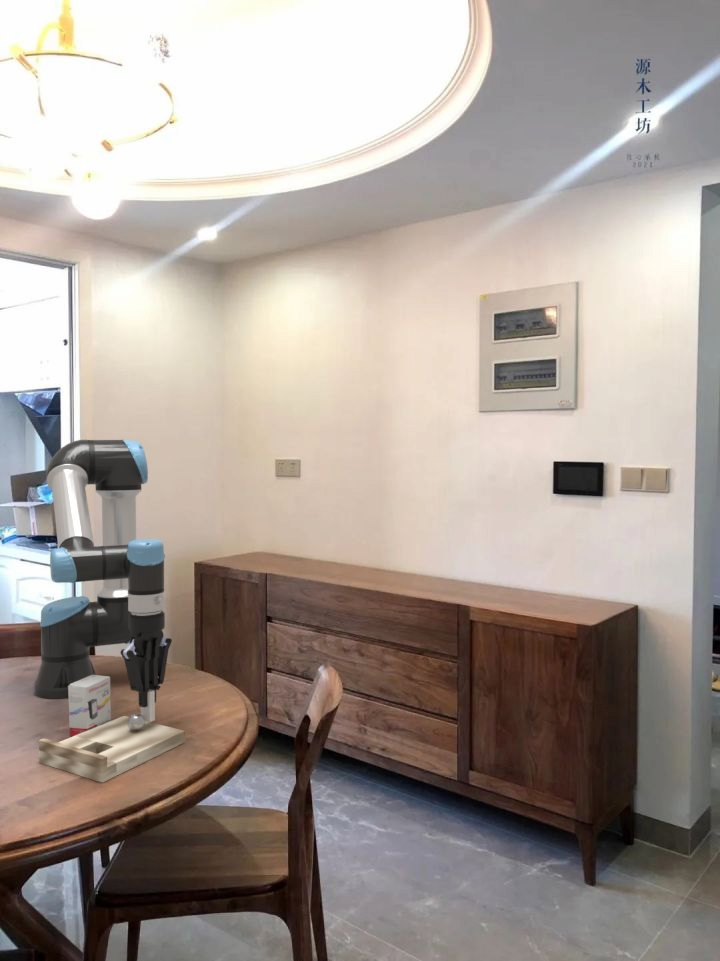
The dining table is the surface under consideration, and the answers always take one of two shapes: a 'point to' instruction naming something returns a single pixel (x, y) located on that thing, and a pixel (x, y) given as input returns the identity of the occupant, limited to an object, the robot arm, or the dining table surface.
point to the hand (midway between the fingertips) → (147, 719)
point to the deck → (109, 749)
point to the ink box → (89, 703)
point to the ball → (136, 722)
